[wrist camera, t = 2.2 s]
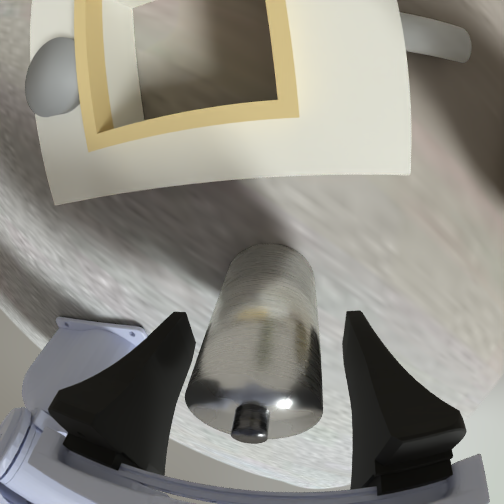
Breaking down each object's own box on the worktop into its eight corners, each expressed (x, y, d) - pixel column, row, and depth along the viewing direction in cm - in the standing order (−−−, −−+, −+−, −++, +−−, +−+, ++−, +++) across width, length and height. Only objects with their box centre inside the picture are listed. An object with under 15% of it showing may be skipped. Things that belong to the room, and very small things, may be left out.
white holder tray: (85, 188, 14) (39, 215, 11) (63, 5, 9) (17, -3, 5) (450, 164, 11) (496, 188, 8) (422, -46, 6) (454, -75, 2)
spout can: (233, 315, 17) (197, 452, 9) (220, 245, 15) (156, 391, 7) (313, 314, 17) (317, 460, 9) (314, 241, 14) (331, 401, 6)
